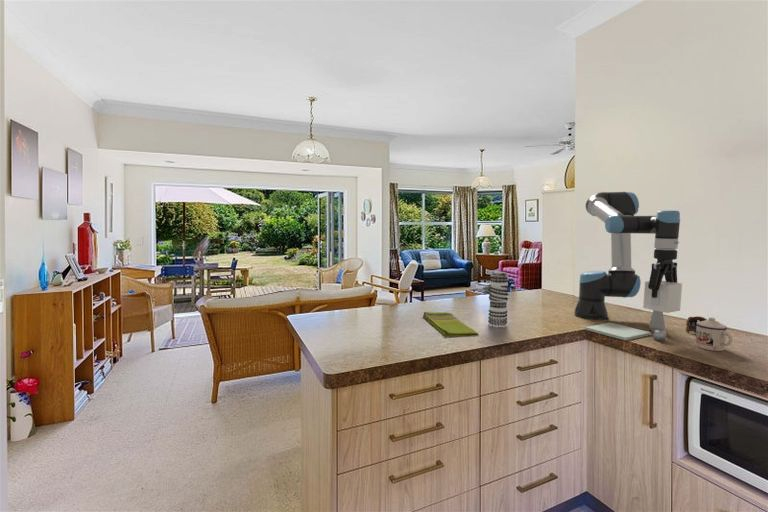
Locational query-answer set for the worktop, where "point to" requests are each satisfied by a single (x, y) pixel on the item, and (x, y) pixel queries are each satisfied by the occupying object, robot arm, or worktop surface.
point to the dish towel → (448, 324)
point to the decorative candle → (498, 299)
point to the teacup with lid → (712, 335)
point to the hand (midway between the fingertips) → (661, 304)
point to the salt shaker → (657, 321)
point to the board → (618, 331)
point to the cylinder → (660, 335)
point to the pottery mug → (693, 323)
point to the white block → (664, 297)
